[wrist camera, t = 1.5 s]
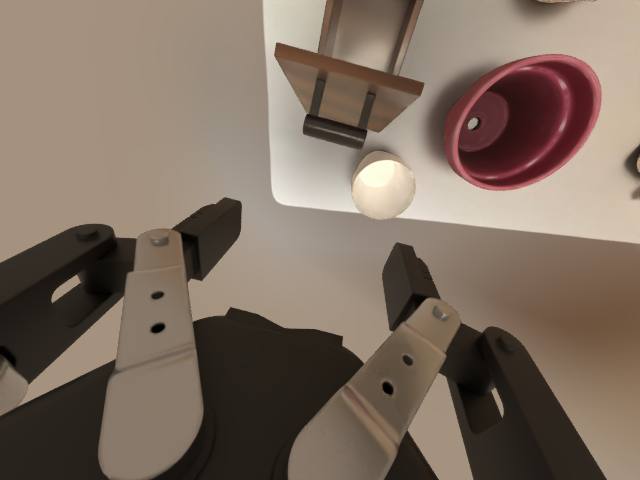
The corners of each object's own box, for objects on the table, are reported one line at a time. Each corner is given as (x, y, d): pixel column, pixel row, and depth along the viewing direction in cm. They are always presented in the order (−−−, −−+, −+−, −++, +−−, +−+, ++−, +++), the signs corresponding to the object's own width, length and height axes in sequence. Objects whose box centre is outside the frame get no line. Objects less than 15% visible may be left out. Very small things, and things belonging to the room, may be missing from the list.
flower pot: (530, 47, 32) (620, 21, 21) (525, 150, 38) (592, 171, 27) (420, 92, 36) (446, 89, 25) (432, 177, 42) (457, 205, 31)
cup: (344, 157, 42) (340, 176, 32) (393, 133, 39) (405, 146, 29) (363, 199, 46) (364, 228, 36) (409, 181, 43) (424, 207, 33)
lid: (276, 41, 15) (263, 120, 17) (425, 82, 15) (399, 157, 17) (307, 106, 31) (299, 143, 32) (381, 126, 31) (369, 163, 32)
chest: (343, -27, 30) (338, -67, 23) (417, -6, 30) (437, -39, 23) (317, 106, 39) (307, 109, 31) (375, 123, 39) (380, 129, 31)
